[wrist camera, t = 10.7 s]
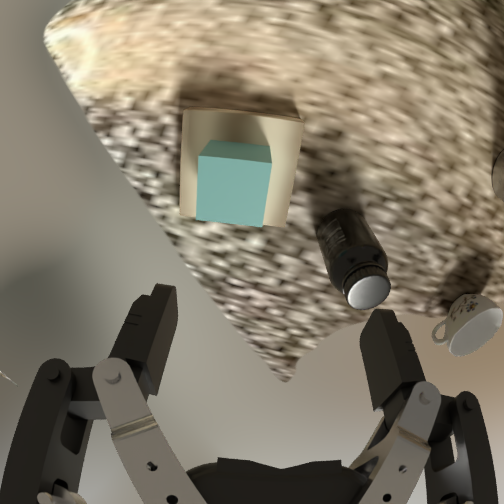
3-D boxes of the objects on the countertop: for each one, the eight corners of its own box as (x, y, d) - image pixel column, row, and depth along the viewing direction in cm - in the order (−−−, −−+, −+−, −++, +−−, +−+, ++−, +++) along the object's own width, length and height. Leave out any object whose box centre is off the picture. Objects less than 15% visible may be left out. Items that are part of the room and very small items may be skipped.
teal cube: (269, 146, 28) (272, 163, 23) (262, 199, 31) (262, 227, 26) (210, 139, 28) (198, 155, 23) (206, 193, 31) (195, 219, 26)
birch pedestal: (300, 118, 29) (304, 123, 26) (282, 215, 35) (284, 227, 33) (190, 106, 28) (183, 109, 26) (185, 204, 35) (179, 215, 32)
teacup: (490, 271, 40) (511, 300, 33) (478, 315, 46) (494, 342, 40) (426, 295, 43) (444, 329, 36) (420, 337, 49) (433, 369, 43)
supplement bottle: (323, 258, 39) (341, 325, 29) (309, 217, 36) (327, 279, 26) (370, 243, 37) (401, 305, 27) (361, 199, 34) (397, 256, 24)
